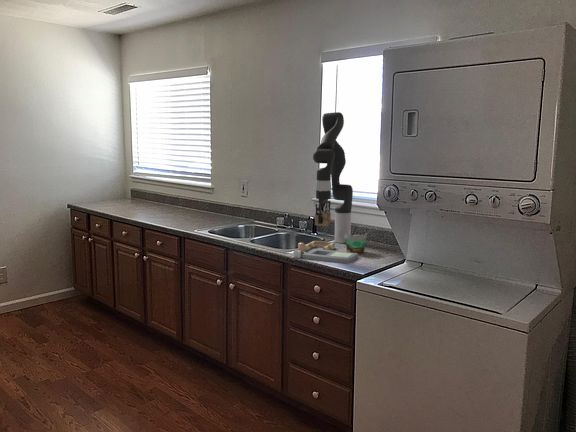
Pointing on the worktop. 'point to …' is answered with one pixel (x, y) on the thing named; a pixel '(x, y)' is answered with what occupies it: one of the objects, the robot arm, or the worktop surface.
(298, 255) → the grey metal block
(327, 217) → the walnut cube
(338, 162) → the robot arm
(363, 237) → the food container
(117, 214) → the worktop surface
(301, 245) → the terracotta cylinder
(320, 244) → the tan curved piece
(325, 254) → the grey tray
